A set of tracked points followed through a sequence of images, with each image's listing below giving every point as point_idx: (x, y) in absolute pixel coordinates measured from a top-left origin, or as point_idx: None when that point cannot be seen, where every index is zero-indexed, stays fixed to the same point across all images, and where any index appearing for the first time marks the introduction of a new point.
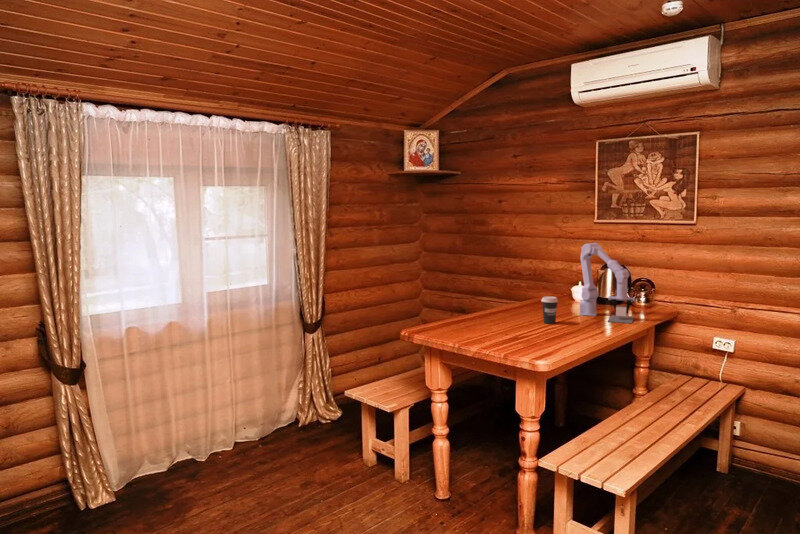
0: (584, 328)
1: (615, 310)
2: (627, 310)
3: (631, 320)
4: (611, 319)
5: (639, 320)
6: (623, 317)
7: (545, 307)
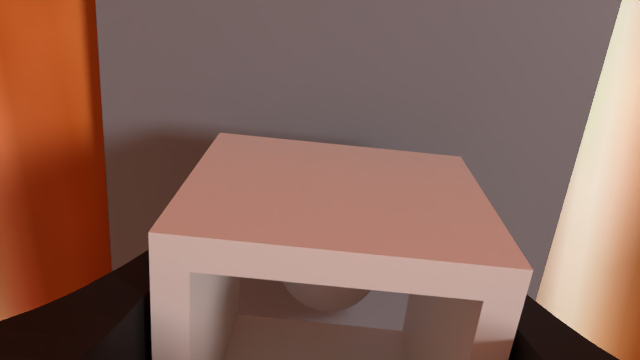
0: None
1: None
2: None
3: (126, 99)
4: (534, 100)
5: (13, 227)
6: None
7: None
